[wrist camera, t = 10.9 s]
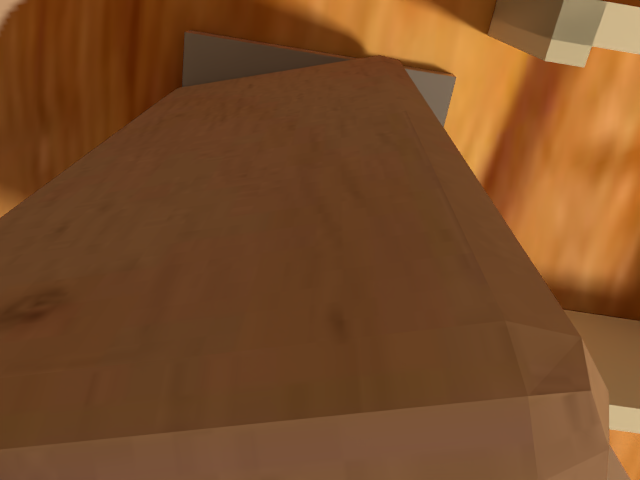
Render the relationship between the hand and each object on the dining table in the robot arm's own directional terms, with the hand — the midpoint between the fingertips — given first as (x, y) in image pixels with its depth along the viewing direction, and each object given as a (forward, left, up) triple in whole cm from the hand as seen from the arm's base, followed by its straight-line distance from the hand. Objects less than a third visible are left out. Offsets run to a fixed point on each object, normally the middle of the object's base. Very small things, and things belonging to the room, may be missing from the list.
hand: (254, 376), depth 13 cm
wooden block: (0, 0, -13) cm, 13 cm away
